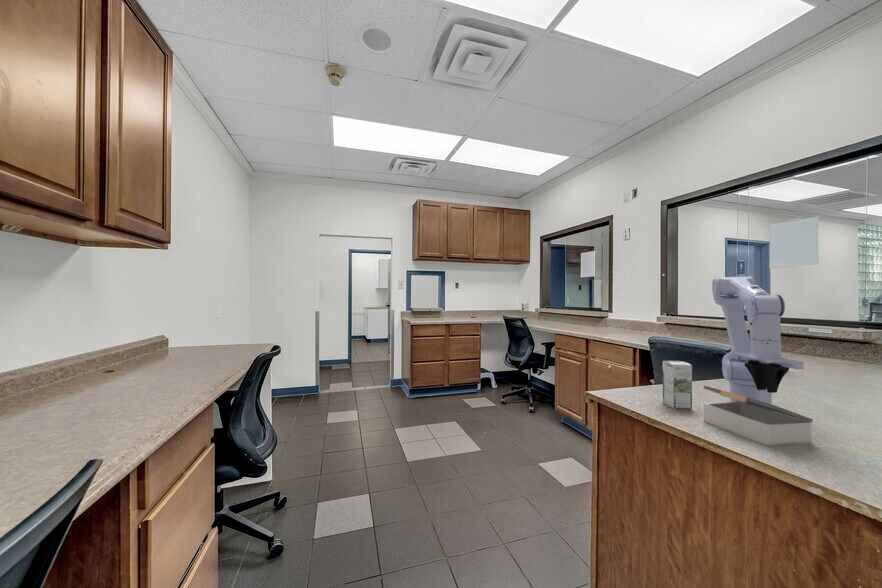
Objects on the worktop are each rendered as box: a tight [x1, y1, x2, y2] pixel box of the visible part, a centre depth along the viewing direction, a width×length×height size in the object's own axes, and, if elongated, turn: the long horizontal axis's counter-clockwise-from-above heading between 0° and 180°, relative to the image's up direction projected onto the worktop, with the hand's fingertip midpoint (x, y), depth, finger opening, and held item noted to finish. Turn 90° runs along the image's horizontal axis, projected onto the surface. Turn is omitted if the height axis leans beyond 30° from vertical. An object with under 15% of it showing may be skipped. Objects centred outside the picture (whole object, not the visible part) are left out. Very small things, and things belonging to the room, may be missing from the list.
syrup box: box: [662, 360, 693, 410], centre depth 102 cm, size 6×6×14 cm
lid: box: [703, 385, 813, 423], centre depth 83 cm, size 13×16×1 cm
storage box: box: [703, 401, 812, 448], centre depth 83 cm, size 12×16×5 cm
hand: (766, 391), depth 83 cm, fingers closed
